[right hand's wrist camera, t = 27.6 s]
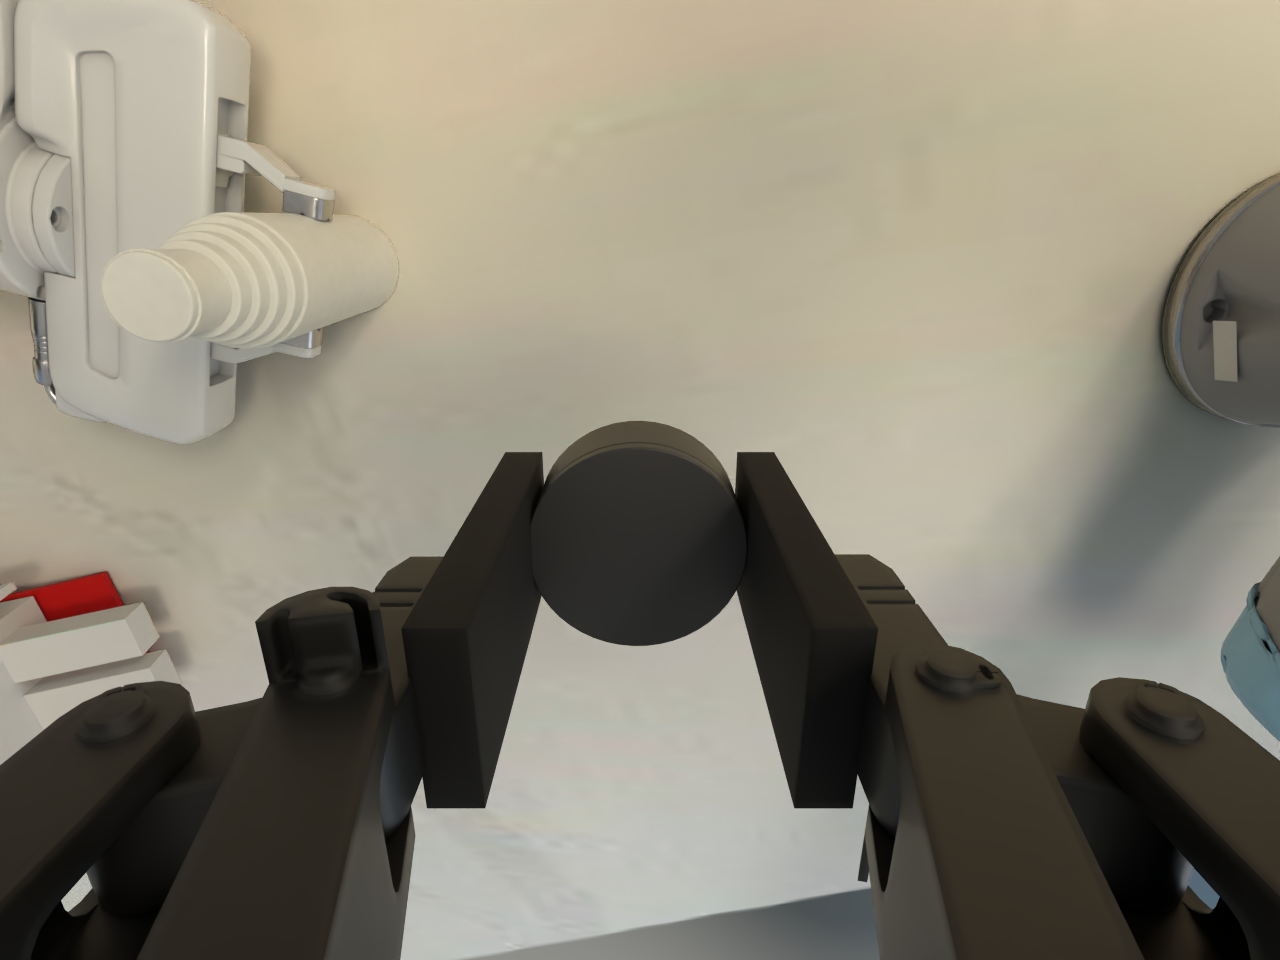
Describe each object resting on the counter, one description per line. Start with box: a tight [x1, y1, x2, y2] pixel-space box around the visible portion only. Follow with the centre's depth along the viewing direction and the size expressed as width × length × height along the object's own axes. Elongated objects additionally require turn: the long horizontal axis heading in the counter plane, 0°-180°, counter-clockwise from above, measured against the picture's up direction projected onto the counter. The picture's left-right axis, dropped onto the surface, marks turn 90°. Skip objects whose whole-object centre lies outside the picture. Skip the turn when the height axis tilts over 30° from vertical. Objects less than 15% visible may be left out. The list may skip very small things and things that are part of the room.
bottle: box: [100, 212, 399, 348], centre depth 31 cm, size 5×5×18 cm
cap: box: [530, 421, 748, 646], centre depth 13 cm, size 4×4×2 cm
